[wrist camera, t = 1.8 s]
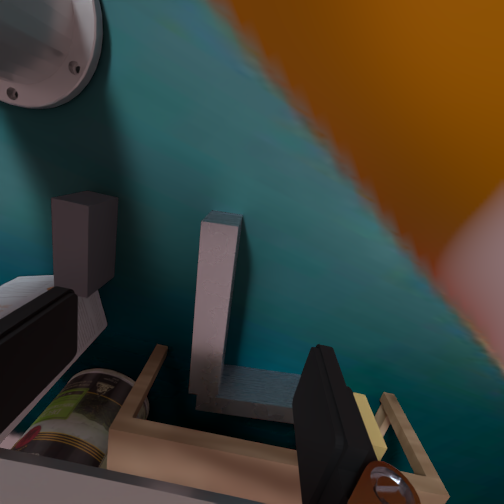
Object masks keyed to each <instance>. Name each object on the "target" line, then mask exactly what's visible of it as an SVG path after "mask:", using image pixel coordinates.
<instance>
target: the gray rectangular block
mask: <svg viewBox="0 0 504 504" xmlns="http://www.w3.org/2000/svg"><path fill="white" fill-rule="evenodd" d="M51 209H52V240H53V270H54V287H55V286H60V287H64V288H69V289H72V290H74V292H75V294H76V295H77V296H79V297H84V298H88V297H89V296H91V295H92V294H93V293H94V292H96V291H97V290H98V289H99V288H101V287H102V286H103V285H104V284H106V283H107V282H108V281H109V280H111V279H112V278H113V277H114V273H115V254H116V235H117V216H118V198H117V197H113V196H109V195H104V194H100V193H96V192H91V191H83V192H78V193H73V194H68V195H63V196H57V197H52V198H51Z"/></svg>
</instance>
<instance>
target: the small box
mask: <svg viewBox="0 0 504 504" xmlns="http://www.w3.org/2000/svg"><path fill="white" fill-rule="evenodd" d="M53 287H54V275H43V276H21V277H17V278H15V279H13V280H11V281H9V282H7V283H5V284H3V285H1V286H0V319H1V318H3V317H4V316H6V315H8V314H10V313H11V312H13V311H15V310H16V309H18V308H20V307H21V306H23V305H25V304H26V303H28V302H30V301H31V300H33V299H35V298H36V297H38V296H40V295H41V294H43V293H45V292H46V291H48V290H50V289H51V288H53ZM106 327H107V321H106V317H105V314H104V310H103V307H102V303H101V299H100V295H99V292H98V290H97V291H96V292H94V293H93V294H92V295H91V296H89V297H88V298H84V297H79V296H78V344H77V353H76V356H75V357H74V359H73V360H72V361H71V362H70V363H69V364H68V365H67V366H66V367H65V368H64V369H63V370H62V371H61V372H60V373H59V374H58V375H57V376H56V377H55V379H54V380H53V381H52V382H51V383H50V384H49V385H48V386H47V387H46V388H45V389H44V390H43V391H42V392H41V393H40V394H39V395H38V396H37V397H36V398H35V399H34V400H33V401H32V402H31V403H30V404H29V405H28V406H27V407H26V408H25V409H24V410H23V412H22V413H21V414H20V415H19V416H18V417H17V418H16V419H15V420H14V421H13V422H12V423H11V424H10V425H9V426H8V427H7V428H6V429H5V430H4V431H3V432H2V433H1V434H0V443H1V442H2V441H3V440H4V439H5V438H6V437H7V436H8V435H9V434H10V432H11V431H12V430H13V429H14V428H15V427H16V426H17V425H18V424H19V422H20V421H21V420H22V419H23V418H24V417H25V416H26V415H27V414H28V413H29V412H30V410H31V409H32V408H33V407H34V406H35V405H36V404H37V403H38V402H39V400H40V399H41V398H42V397H43V396H44V395H45V394H46V393H47V392H48V391H49V389H50V388H51V387H52V386H53V385H54V384H55V383H56V382H57V381H58V380H59V378H60V377H61V376H62V375H63V374H64V373H65V372H66V371H67V370H68V369H69V367H70V366H71V365H72V364H73V363H74V362H75V361H76V360H77V359H78V358H79V356H80V355H81V354H82V353H83V352H84V351H85V350H86V349H87V348H88V347H89V346H90V344H91V343H92V342H93V341H94V340H95V339H96V338H97V337H98V336H99V334H100V333H101V332H102V331H103V330H104V329H105V328H106Z"/></svg>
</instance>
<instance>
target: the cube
mask: <svg viewBox="0 0 504 504" xmlns="http://www.w3.org/2000/svg"><path fill="white" fill-rule="evenodd" d="M353 394H354V397H355V400H356V403H357V405H358V408H359V411H360V413H361V416H362V419H363V421H364V424H365V427H366V430H367V432H368V435H369V438H370V440H371V443H372V446H373V449H374V451H375V454H376V457H377V459H378V461H380V460H381V458H382V457H383V455H384V453H385V452H386V450H387V446H386V444H385V441H384V439H383V437H382V434H381V432H380V429H379V427H378V425H377V422H376V420H375V418H374V415H373V413H372V410H371V408H370V406H369V403H368V401H367V399H366V396H365V395H363V394H358V393H353Z"/></svg>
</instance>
